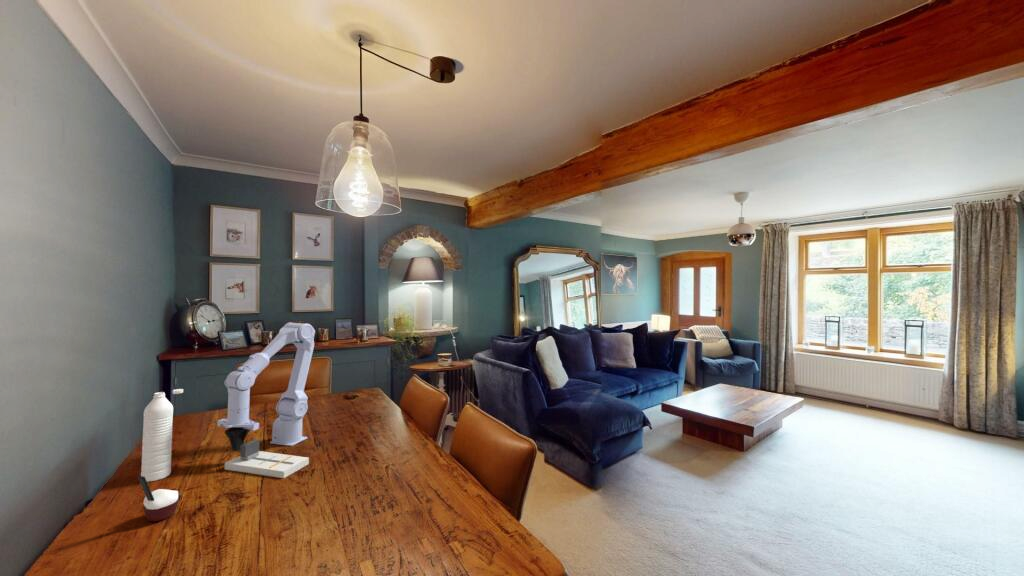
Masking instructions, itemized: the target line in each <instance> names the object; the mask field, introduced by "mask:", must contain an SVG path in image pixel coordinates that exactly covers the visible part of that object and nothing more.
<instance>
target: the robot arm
mask: <svg viewBox="0 0 1024 576" xmlns="http://www.w3.org/2000/svg"><path fill="white" fill-rule="evenodd" d="M315 334H316V330H315V328H314V326H313V325H311V324H310V323H299V322H298V323H297V322H291V321H289V322H287V323H285V324H284V325H283V326H282V327H281V328H280V329H279V332H278V333H277V335H276V336H274V338H273V339H272V340H271V341H270V342H269V343H268V344H267V345H266V347H264V349H263V350H262V351H261V352H255V353H253V354H251V355H249V357H248V359H247V360H246V361H245V362H244V363H243V364H242V365H241V366H239V367H237V370H235V371H231V372H229V374H228V375H227V376H226V379H225V380H224V381H223V382H224V383H223V384H224V387H226V388H227V394H228V397H227V418H222V419H219V420H217V424H216V425H217V427H219V428H220V427H224V428H226V429H225V430H224V434H225V435H226V437H227V439H228V441H229V442H230V446H231V450H232V451H233V452H238V451H240V447H241V445H243V444H245V439H246V438H247V435H248V434H249V432H250V431H251V432H253V431H254V432H255V431H257V430H259V429H260V423H259V422H257V421H253V420H251V419H250V401H251V399H250V397H251V396H250V394H251V387H253V386H254V384H255V381H256V379H257V377H258V376H259V375H260V374H261V372H262V371H263V370H265V368H267V367H268V366H269V365H270V359H271V358H272V357H273V356H275V354H277V352H279V351H280V350H281V349H282V348H284V346H286V345H287V344H290V343H293V345H294V346H295V347H296V354H295V357H294V361H293V366H292V370H291V372H290V373H291V374H290V377H289V381H288V386H287V389H286V391H284V392H282V393H281V396H280V398H279V400H278V402H277V403H276V406H275V412H276V413H277V415H279V416H278V417H276V418H275V419H274V422H273V423H272V431H271V432H272V435H271V436H272V439H271V441H270V442H269V443H270V444H273V445H279V446H280V445H281V446H288V447H292V446H295V445H297V444H298V443H301V442H303V441H305V440H307V439H308V436H303V418H304V417H305V415H306V413H307V412H308V407H309V406H308V396H307V394H306V393H305V386H306V384H307V379H308V374H309V370H310V365H311V362H312V357H313V353H314V348H315V341H314V339H315Z"/></svg>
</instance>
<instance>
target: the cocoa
mask: <svg viewBox="0 0 1024 576" xmlns="http://www.w3.org/2000/svg"><path fill="white" fill-rule="evenodd" d="M137 479H138V481H139V484H140V486H141V487H142V490H143V492H144V494H145V497H144V500H143V503H142V504H143V513H144V516H145V518H146V519H147V520H148V521H150V522H161V521H164V520H166V519H168V518H170V517H171V516H172V515H174V513H175V512H176V510H177V508H178V506H179V503H180V501H181V500H182V499H181V498H182V496H181V494H179V491H178V490H172V489H167V488H164V489H163V488H158V489H155V490H153V491H152V490H151V488H150V486H149V482H147V481H146V479H145V477H143V476H141V475H139V476H138V477H137Z"/></svg>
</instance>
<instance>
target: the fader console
mask: <svg viewBox="0 0 1024 576" xmlns="http://www.w3.org/2000/svg"><path fill="white" fill-rule="evenodd" d="M309 464H310V457H308V456H307V457H306V456H298V455H293V454H292V455H291V454H285V453H284V454H283V453H279V452H278V453H276V452H271V451H270V452H269V451H262V450H261V451H260V450H259V455H258V456H256V457H254V458H252V459H250V460H243V459H240V455H239V456H237V457H234V458H232V459H231V460H228V461H226V462H224V470H227V471H232V472H240V473H248V474H254V475H258V476H259V475H260V476H266V477H272V478H278V479H279V478H280V479H285V478H288V477H289V476H290V475H292V474H294V473H296V472H297V471H299V470H300V469H302V468H305V467H306V466H307V465H309Z"/></svg>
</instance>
